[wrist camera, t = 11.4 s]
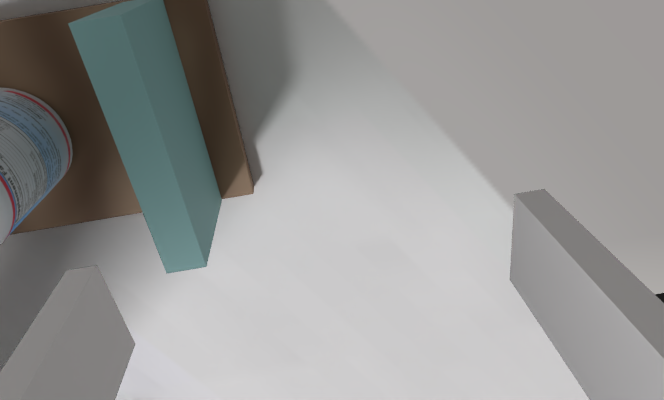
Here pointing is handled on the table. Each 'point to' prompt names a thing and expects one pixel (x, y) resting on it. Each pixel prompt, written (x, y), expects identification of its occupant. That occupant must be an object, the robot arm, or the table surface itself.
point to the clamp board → (88, 118)
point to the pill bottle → (28, 155)
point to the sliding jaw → (153, 125)
